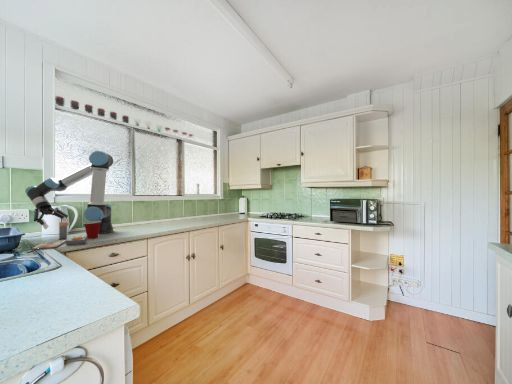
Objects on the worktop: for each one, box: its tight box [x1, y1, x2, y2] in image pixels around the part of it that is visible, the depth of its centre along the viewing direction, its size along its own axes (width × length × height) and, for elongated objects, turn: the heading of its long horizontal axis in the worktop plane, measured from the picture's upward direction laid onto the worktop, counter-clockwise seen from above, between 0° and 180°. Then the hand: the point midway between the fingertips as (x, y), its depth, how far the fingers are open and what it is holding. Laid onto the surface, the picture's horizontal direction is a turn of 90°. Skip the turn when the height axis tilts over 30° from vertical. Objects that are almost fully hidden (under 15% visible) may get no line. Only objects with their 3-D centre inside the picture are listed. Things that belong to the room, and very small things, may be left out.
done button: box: [72, 235, 83, 240], centre depth 141 cm, size 4×4×2 cm
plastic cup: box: [82, 221, 101, 240], centre depth 158 cm, size 11×11×12 cm
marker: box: [58, 221, 68, 241], centre depth 153 cm, size 4×4×12 cm
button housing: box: [65, 236, 89, 246], centre depth 141 cm, size 9×9×3 cm
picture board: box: [30, 239, 68, 251], centre depth 135 cm, size 11×20×1 cm, turn 28°
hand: (58, 226), depth 153 cm, fingers open, 13 cm apart
